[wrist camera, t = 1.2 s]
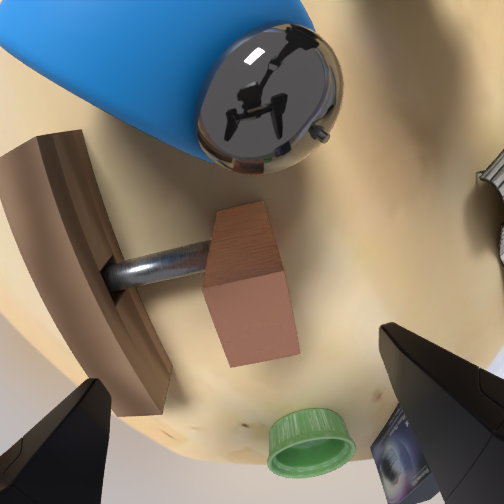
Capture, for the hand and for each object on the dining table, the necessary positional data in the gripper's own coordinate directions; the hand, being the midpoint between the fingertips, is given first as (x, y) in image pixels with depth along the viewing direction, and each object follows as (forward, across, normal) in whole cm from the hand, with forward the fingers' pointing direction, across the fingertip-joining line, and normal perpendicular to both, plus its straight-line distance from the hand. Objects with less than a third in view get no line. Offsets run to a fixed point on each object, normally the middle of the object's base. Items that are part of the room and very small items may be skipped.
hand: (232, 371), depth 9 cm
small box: (+14, -14, +29) cm, 35 cm away
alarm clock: (+7, +5, -17) cm, 19 cm away
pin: (+13, +6, +1) cm, 15 cm away
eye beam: (+13, +10, +1) cm, 17 cm away
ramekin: (+14, -2, +24) cm, 27 cm away
